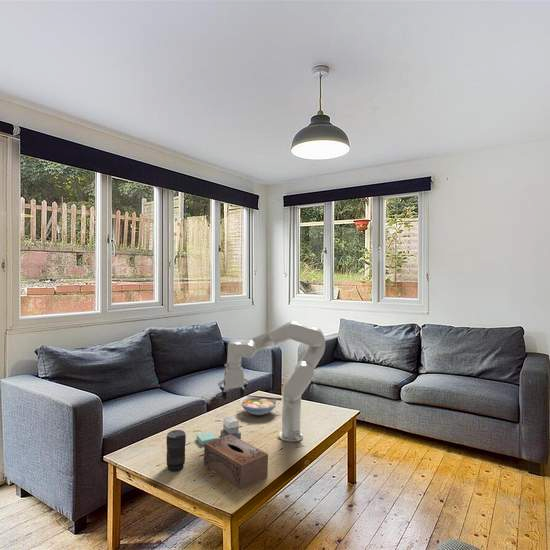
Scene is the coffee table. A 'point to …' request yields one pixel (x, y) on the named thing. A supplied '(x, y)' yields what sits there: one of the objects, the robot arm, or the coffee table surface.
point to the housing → (230, 425)
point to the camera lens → (176, 450)
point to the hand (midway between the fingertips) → (232, 397)
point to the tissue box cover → (236, 461)
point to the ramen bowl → (258, 404)
